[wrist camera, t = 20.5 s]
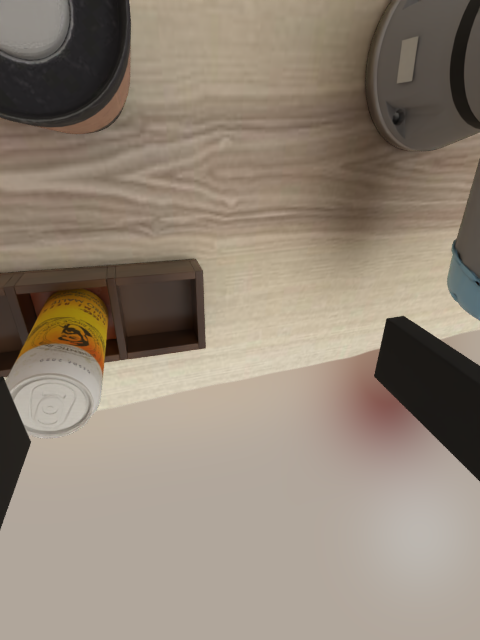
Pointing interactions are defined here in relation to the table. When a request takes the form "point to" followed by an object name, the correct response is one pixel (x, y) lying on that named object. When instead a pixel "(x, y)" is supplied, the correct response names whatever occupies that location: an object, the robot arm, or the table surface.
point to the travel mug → (64, 63)
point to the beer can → (61, 365)
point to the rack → (113, 307)
